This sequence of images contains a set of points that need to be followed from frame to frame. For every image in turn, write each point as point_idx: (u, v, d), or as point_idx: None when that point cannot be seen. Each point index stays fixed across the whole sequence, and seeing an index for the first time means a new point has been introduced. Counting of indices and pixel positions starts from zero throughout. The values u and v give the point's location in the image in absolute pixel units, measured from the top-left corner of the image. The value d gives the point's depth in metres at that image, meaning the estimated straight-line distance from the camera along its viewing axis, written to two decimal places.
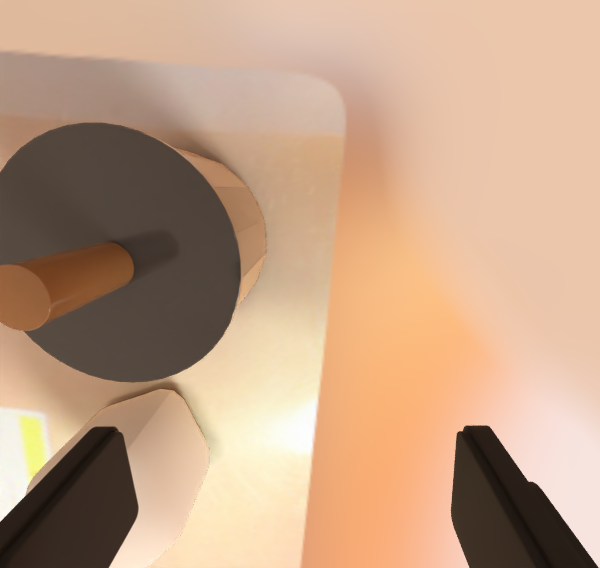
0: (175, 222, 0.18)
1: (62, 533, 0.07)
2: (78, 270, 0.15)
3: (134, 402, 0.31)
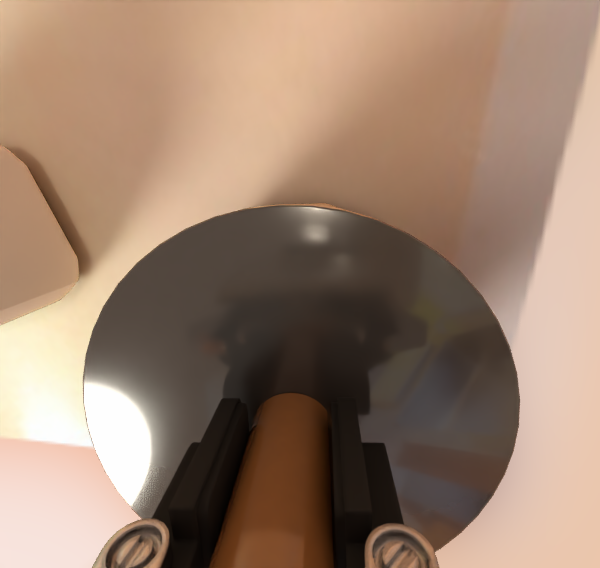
0: None
1: (227, 485, 0.08)
2: None
3: (44, 236, 0.19)
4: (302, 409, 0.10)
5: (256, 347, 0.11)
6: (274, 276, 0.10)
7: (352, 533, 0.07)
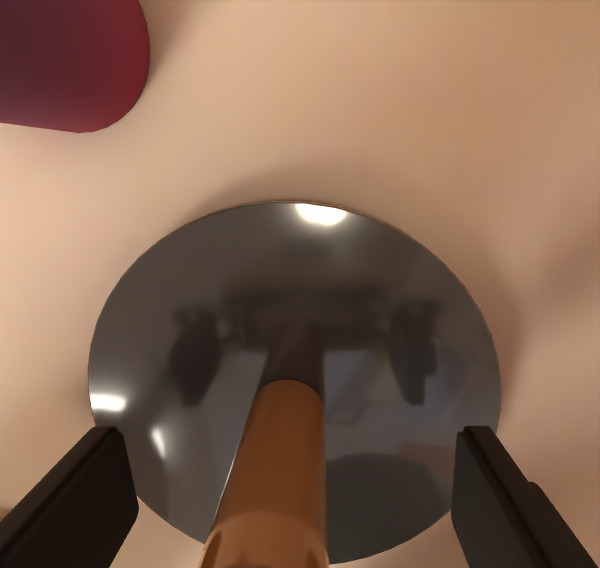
0: (351, 503, 0.13)
1: (62, 533, 0.07)
2: None
3: None
4: (296, 394, 0.11)
5: (253, 336, 0.11)
6: (269, 268, 0.11)
7: None
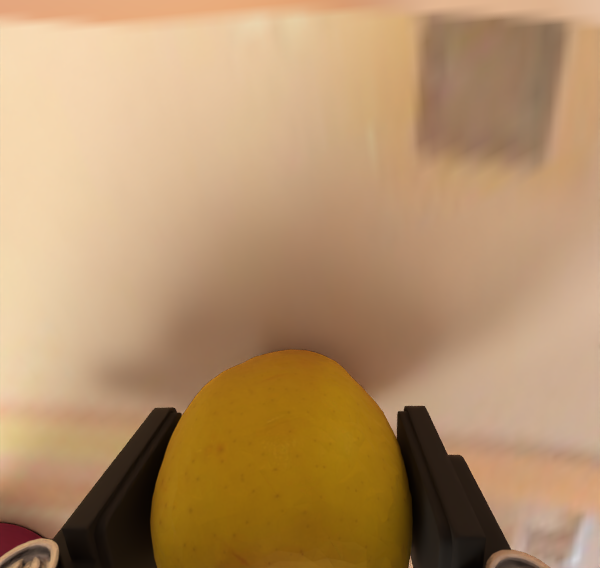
0: None
1: (143, 500, 0.08)
2: None
3: None
4: None
5: None
6: None
7: (460, 560, 0.06)
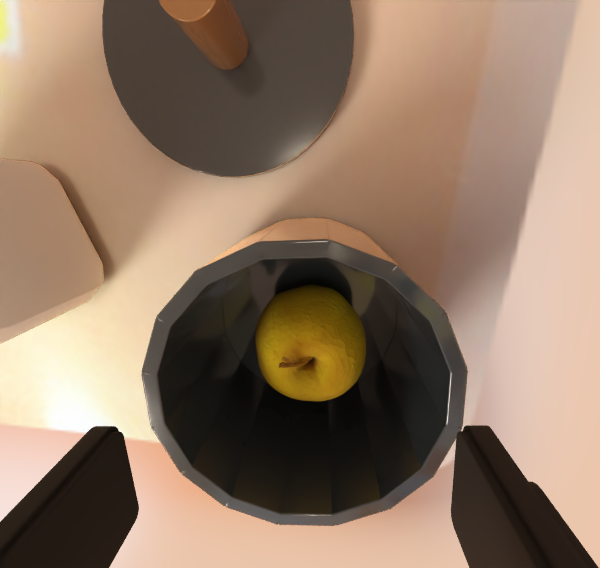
0: (268, 117, 0.20)
1: (62, 533, 0.07)
2: (218, 36, 0.16)
3: (76, 245, 0.21)
4: None
5: None
6: None
7: None
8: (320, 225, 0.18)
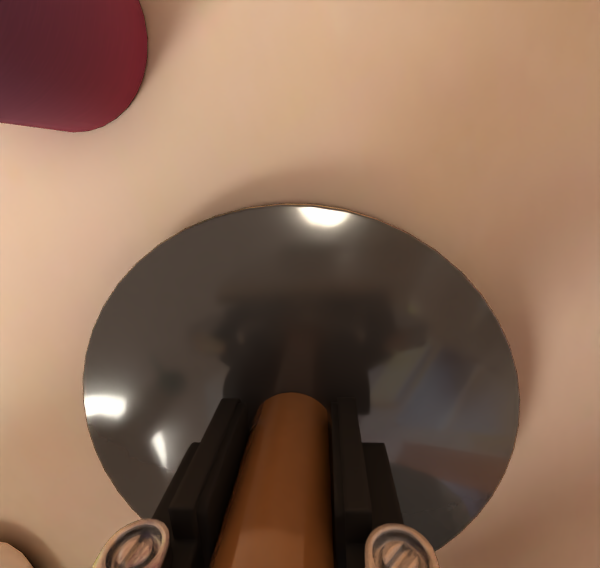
0: None
1: (227, 485, 0.08)
2: None
3: None
4: (302, 409, 0.10)
5: (256, 347, 0.11)
6: (274, 276, 0.10)
7: (352, 533, 0.07)
8: None
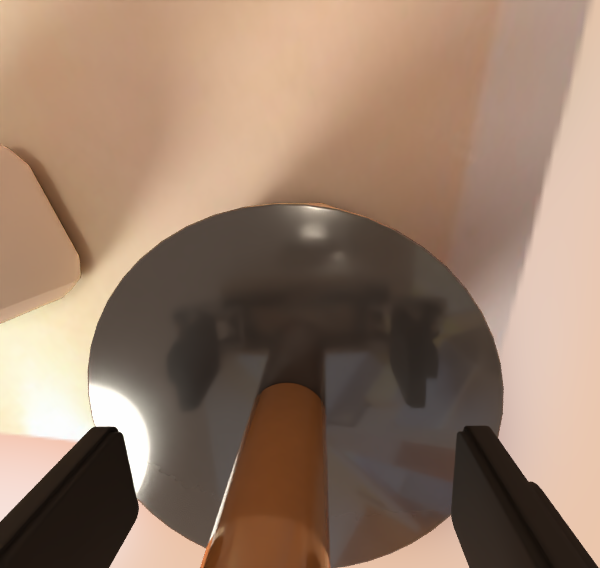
0: (352, 506, 0.13)
1: (62, 533, 0.07)
2: None
3: (47, 235, 0.20)
4: (297, 397, 0.11)
5: (254, 339, 0.11)
6: (270, 271, 0.11)
7: None
8: None
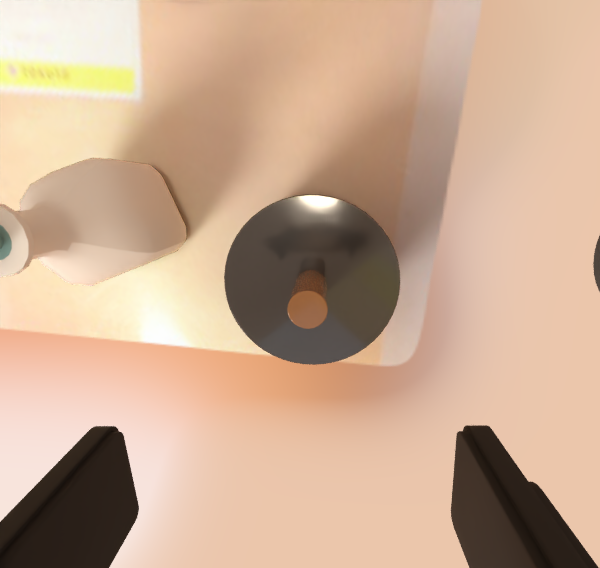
0: (338, 329, 0.29)
1: (62, 533, 0.07)
2: None
3: (175, 214, 0.36)
4: (315, 272, 0.27)
5: (297, 251, 0.27)
6: (304, 221, 0.27)
7: None
8: None
